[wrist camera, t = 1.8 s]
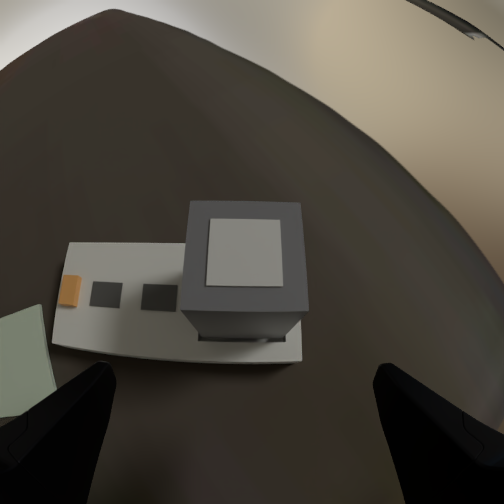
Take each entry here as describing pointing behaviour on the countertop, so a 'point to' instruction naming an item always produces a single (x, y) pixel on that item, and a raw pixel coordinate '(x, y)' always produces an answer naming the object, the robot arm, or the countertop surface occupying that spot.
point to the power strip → (146, 309)
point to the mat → (24, 362)
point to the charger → (244, 269)
